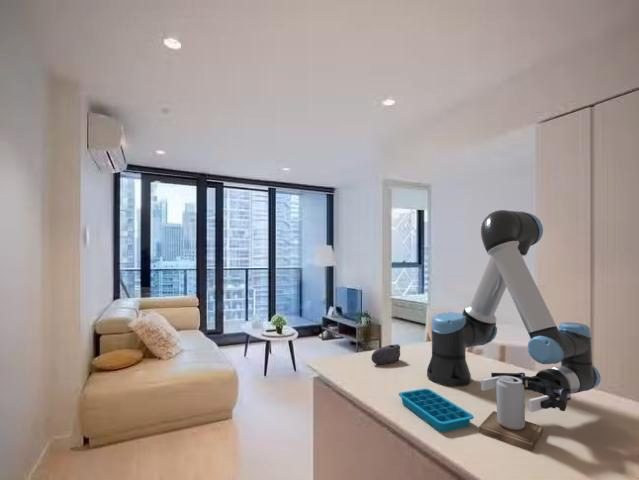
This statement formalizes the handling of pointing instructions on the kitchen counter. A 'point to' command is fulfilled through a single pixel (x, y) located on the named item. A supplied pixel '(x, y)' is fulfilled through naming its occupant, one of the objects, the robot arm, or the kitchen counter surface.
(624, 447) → the kitchen counter surface
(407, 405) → the ice cube tray
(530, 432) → the walnut block
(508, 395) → the beverage can
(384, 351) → the perforated stone tool
